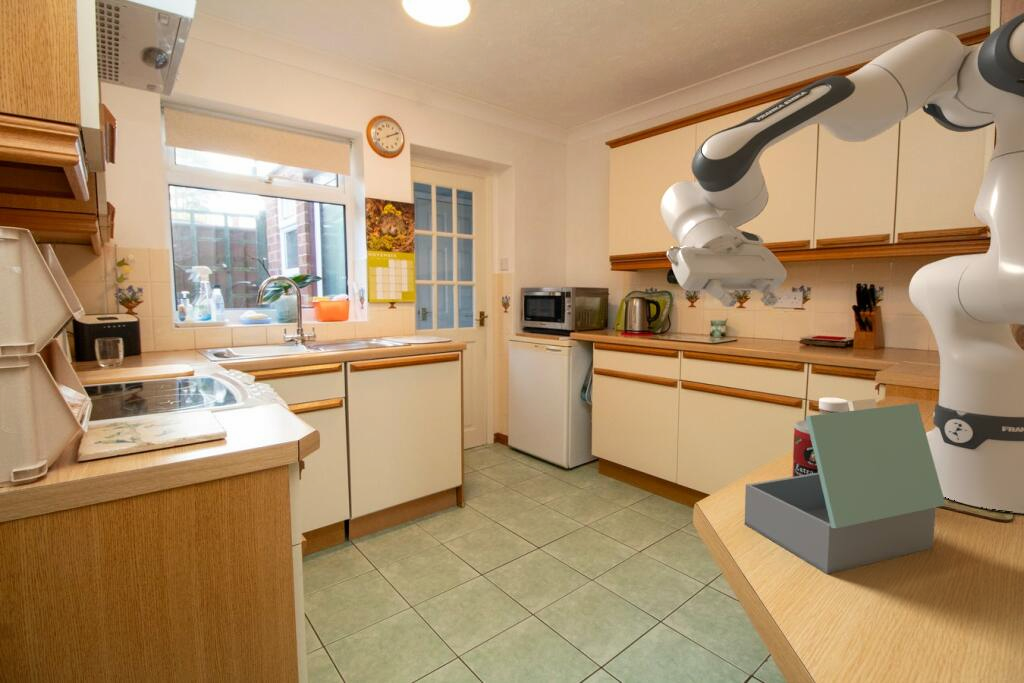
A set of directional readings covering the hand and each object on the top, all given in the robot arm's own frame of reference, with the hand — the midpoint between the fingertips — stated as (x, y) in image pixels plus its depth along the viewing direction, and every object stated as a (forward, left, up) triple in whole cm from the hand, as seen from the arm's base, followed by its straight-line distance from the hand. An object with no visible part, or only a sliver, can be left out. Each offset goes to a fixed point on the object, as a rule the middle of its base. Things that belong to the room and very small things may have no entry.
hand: (752, 303), depth 77 cm
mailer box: (0, +16, -32) cm, 35 cm away
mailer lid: (0, +20, -19) cm, 28 cm away
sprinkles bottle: (-22, -3, -32) cm, 39 cm away
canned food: (-12, +3, -32) cm, 34 cm away
